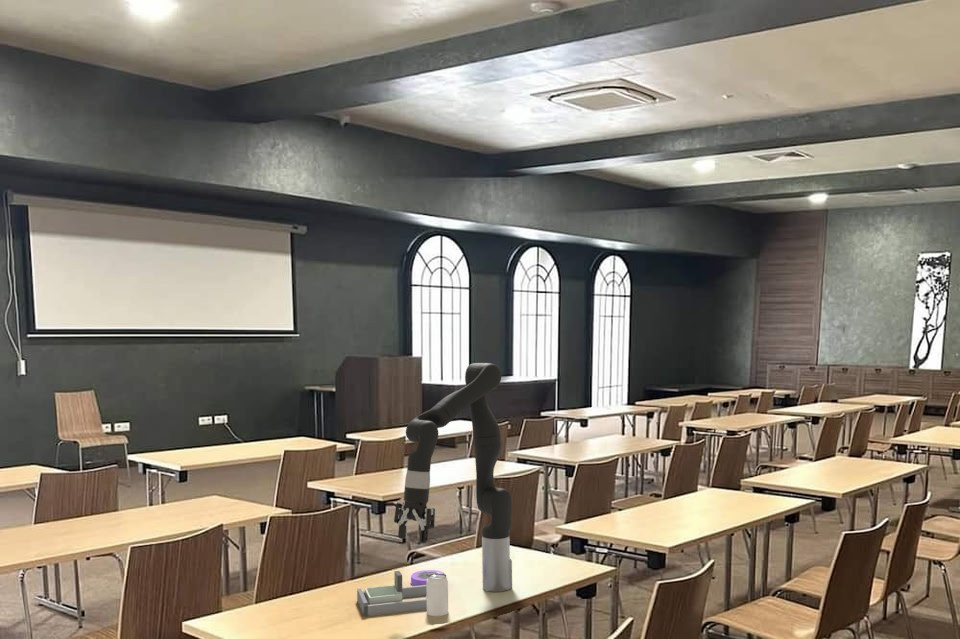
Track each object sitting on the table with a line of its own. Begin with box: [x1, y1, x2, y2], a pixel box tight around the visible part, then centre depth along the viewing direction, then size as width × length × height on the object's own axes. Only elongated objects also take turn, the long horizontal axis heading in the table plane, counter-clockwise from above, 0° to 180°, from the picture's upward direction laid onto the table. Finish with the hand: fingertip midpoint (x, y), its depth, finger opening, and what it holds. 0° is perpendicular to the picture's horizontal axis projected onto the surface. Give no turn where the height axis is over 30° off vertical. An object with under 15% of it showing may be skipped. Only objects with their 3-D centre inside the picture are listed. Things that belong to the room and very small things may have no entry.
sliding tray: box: [364, 570, 403, 605], centre depth 235 cm, size 10×10×10 cm
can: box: [426, 573, 449, 617], centre depth 228 cm, size 6×6×12 cm
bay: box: [356, 585, 427, 617], centre depth 236 cm, size 23×14×5 cm, turn 107°
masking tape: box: [410, 569, 446, 586], centre depth 258 cm, size 12×12×4 cm
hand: (412, 540), depth 230 cm, fingers open, 8 cm apart
